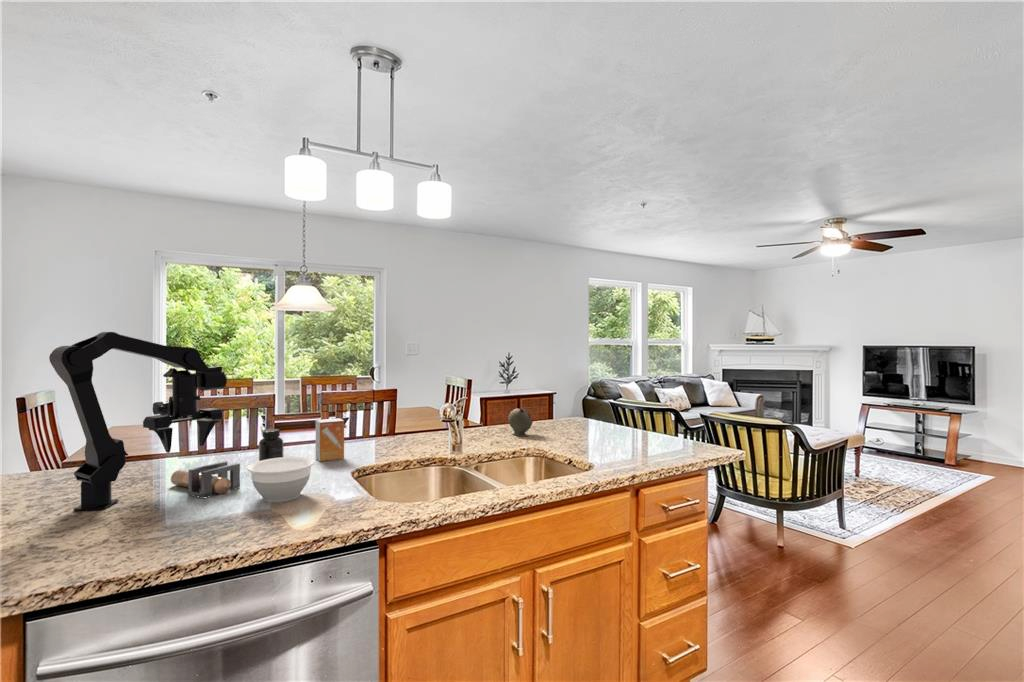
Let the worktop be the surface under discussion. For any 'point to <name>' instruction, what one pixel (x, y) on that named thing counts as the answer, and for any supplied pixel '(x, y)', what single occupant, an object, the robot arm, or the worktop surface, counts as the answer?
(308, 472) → the bowl
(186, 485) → the brown rounded cylinder
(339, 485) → the worktop surface
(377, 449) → the worktop surface
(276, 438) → the supplement bottle
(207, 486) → the collar bracket
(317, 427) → the small box
